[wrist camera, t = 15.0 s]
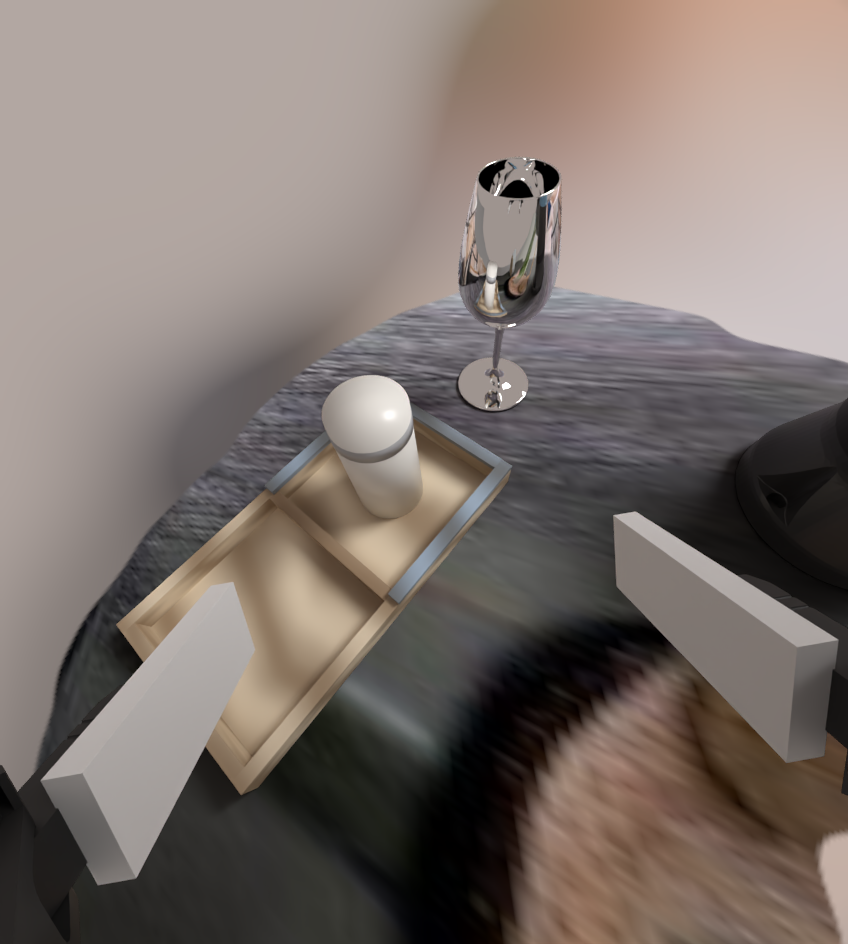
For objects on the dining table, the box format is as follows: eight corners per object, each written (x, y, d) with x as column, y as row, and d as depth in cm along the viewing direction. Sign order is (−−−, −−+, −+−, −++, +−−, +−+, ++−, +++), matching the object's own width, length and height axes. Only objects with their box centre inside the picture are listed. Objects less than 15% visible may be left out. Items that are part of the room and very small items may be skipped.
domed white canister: (388, 450, 40) (363, 362, 29) (436, 483, 38) (428, 400, 27) (345, 494, 38) (302, 416, 27) (393, 532, 35) (367, 463, 25)
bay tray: (383, 401, 44) (378, 382, 41) (508, 481, 38) (512, 465, 35) (137, 629, 33) (111, 623, 31) (258, 788, 27) (237, 797, 25)
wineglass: (451, 408, 43) (449, 206, 25) (462, 355, 46) (468, 147, 29) (526, 417, 41) (578, 212, 24) (532, 362, 45) (581, 149, 28)
